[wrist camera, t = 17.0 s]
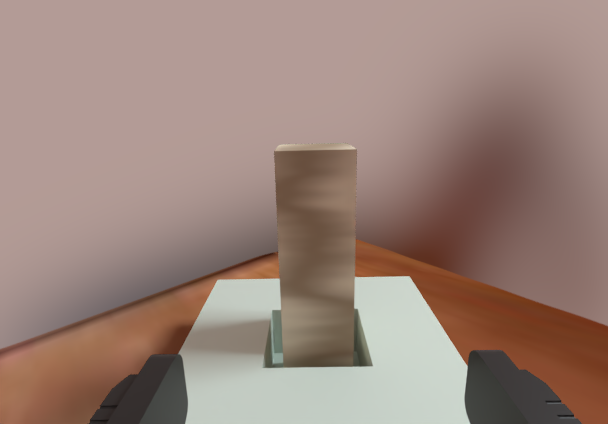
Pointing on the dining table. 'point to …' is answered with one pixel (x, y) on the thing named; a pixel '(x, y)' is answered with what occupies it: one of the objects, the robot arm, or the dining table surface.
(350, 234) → the peg
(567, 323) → the dining table surface
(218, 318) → the socket block
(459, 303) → the dining table surface
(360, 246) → the dining table surface
